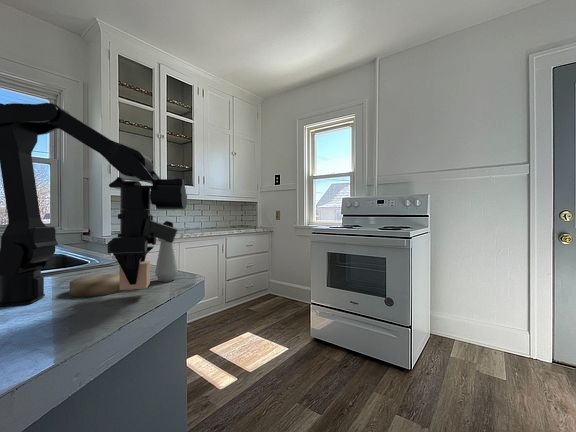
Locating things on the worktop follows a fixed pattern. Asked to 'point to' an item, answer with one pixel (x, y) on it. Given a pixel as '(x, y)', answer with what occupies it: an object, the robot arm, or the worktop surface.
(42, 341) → the worktop surface
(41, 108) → the robot arm
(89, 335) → the worktop surface
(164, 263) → the salt shaker
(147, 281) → the terracotta block
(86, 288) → the walnut base
